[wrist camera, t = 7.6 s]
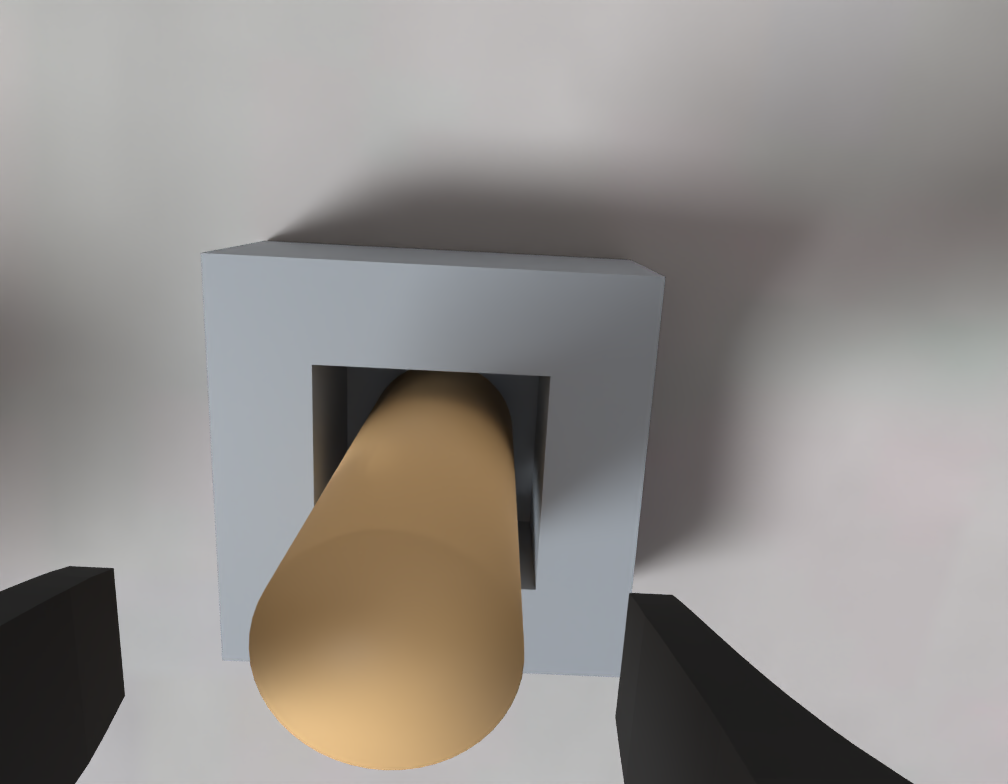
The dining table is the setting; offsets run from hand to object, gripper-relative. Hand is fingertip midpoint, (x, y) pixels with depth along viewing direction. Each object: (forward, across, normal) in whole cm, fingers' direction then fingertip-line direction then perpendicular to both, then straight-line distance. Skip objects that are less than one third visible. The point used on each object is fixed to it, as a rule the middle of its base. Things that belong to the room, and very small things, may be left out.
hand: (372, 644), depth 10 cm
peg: (+9, 0, 0) cm, 9 cm away
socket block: (+9, 0, 0) cm, 9 cm away
